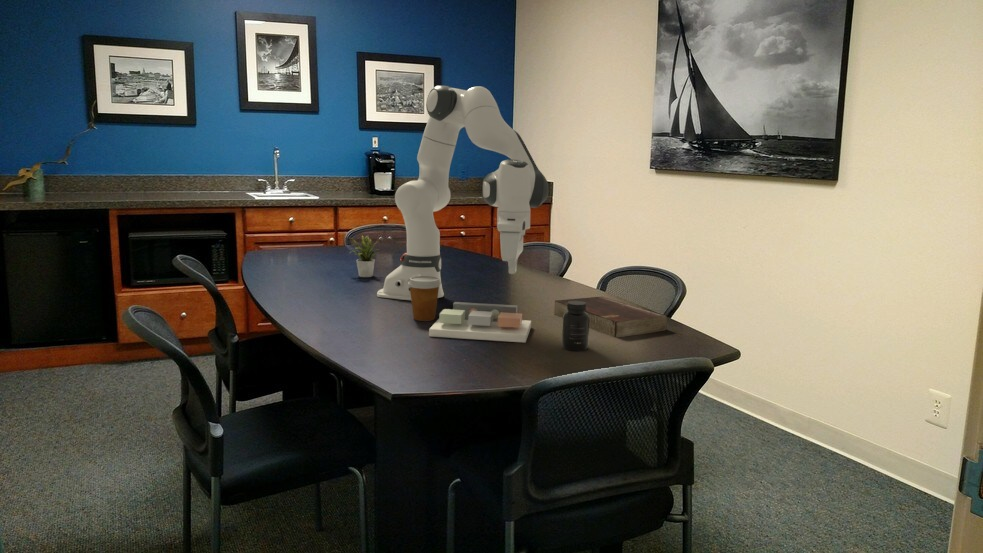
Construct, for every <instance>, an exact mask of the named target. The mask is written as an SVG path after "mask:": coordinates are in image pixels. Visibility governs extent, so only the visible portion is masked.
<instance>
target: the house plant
mask: <svg viewBox="0 0 983 553" xmlns="http://www.w3.org/2000/svg"><path fill="white" fill-rule="evenodd" d="M350 239H352V240H350V242H351V243H353V244H354V245H355V247H353V249H354V250H353V249H352V250H351V251H350V253H352V252H354V256H355V255H357V257H358V259H356V266H357V272H358V277H359V278H371V277H373V274H374V269H375V261H376V259H373V257H374V256H375V255H376V256H377V253H375V251H376V250H381V249H380V248H377V249H374V247H375V246H376V244H377V243H378V242H379V240H378V241H375V242H374V243H373V244H372V238H370V237H369V235H366V236H365V237H364V235H361V241H360V242H361V246H362V247H361V246H360V244H358V242H357V241H356V240H355V239H353V238H351V237H350ZM355 249H356V250H358V251H359V252H358V251H356V250H355ZM373 249H374V250H373Z"/></svg>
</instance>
